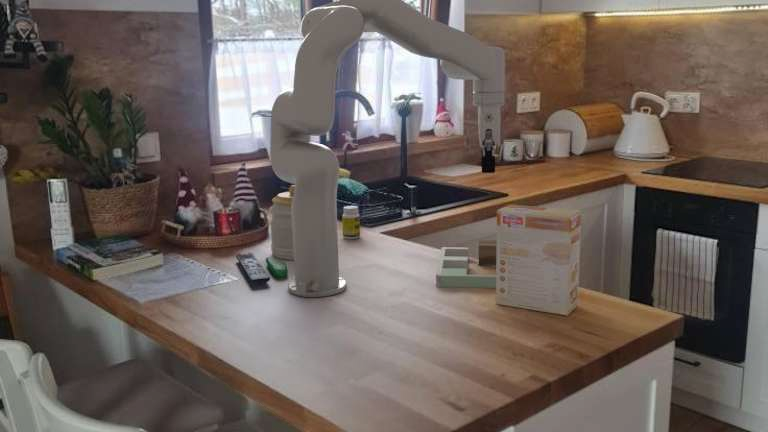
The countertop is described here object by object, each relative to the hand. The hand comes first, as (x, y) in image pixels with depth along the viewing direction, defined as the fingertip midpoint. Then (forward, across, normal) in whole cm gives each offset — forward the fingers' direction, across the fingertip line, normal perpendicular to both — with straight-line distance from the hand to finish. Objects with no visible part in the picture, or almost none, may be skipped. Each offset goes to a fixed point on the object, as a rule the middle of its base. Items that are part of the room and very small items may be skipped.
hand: (488, 169), depth 187 cm
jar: (+21, -6, +48) cm, 52 cm away
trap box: (+21, -19, +3) cm, 28 cm away
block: (+21, -11, 0) cm, 24 cm away
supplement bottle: (+21, +11, +37) cm, 43 cm away
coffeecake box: (+21, -40, -9) cm, 46 cm away
